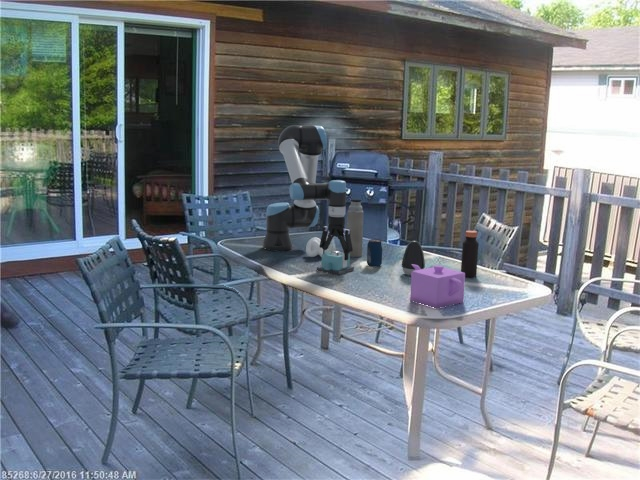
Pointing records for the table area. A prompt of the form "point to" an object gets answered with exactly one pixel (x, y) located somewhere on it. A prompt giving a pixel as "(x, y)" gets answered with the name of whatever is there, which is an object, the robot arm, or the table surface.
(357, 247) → the thermos bottle
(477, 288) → the table surface
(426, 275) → the teapot
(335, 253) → the post base
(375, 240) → the soda can
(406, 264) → the egg shaped speaker
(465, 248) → the black water bottle
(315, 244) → the white coiled rope
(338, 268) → the teal rectangular planter
